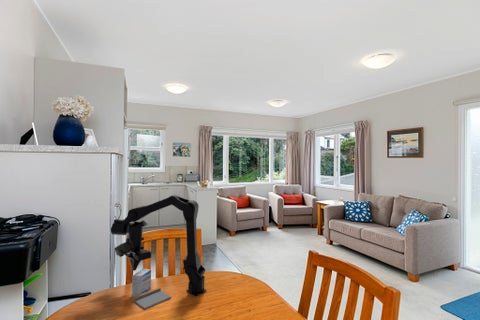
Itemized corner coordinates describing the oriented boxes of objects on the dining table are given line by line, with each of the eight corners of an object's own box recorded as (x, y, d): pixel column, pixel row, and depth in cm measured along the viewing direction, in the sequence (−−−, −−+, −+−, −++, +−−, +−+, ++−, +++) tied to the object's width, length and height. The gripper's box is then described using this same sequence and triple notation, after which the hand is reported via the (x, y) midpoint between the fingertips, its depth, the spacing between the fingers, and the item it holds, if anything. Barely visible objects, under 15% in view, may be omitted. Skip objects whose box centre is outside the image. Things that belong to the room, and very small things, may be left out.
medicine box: (140, 297, 108) (141, 276, 108) (131, 296, 109) (131, 275, 109) (150, 288, 116) (151, 269, 116) (141, 287, 117) (142, 268, 117)
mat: (159, 290, 114) (159, 287, 114) (171, 298, 109) (171, 294, 109) (132, 301, 105) (133, 297, 105) (144, 309, 99) (144, 305, 99)
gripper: (108, 234, 118) (106, 269, 117) (128, 243, 105) (126, 282, 105) (131, 230, 126) (130, 262, 126) (152, 238, 114) (151, 274, 114)
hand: (134, 270), depth 117 cm, fingers closed
